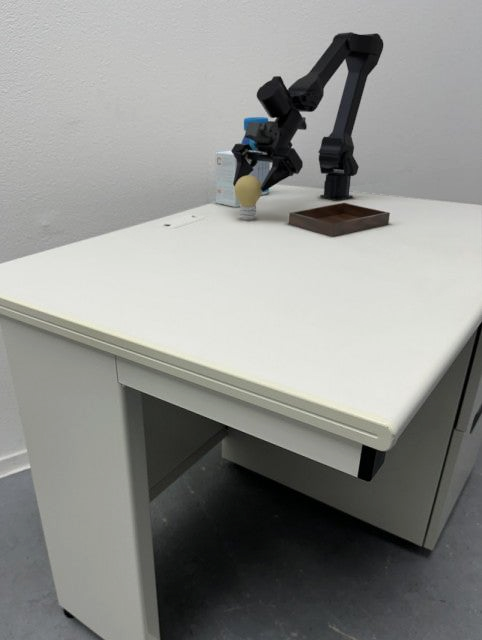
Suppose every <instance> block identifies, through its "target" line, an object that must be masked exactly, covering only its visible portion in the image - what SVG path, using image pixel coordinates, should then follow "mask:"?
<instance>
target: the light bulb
mask: <svg viewBox="0 0 482 640" xmlns="http://www.w3.org/2000/svg"><path fill="white" fill-rule="evenodd" d="M261 186H262V185H261V182H260V181H259V179H257V178H256V177H254V176H250V175H247V176H243V177H241V178H240V179H239V180H238V181H237V183H236V185H235V194H236V197H237V199H238V200H239V201H240V203H241V206H239V210H240V211H239V212H240V213H239V216H240V219H242V220H243V221H252V220H255V218H257V214H256V213H257V210H256V209H257V206H256V204H257V202H258V201H259V199H260V197H261V196H262V195H261V193H262V190H261Z"/></svg>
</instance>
